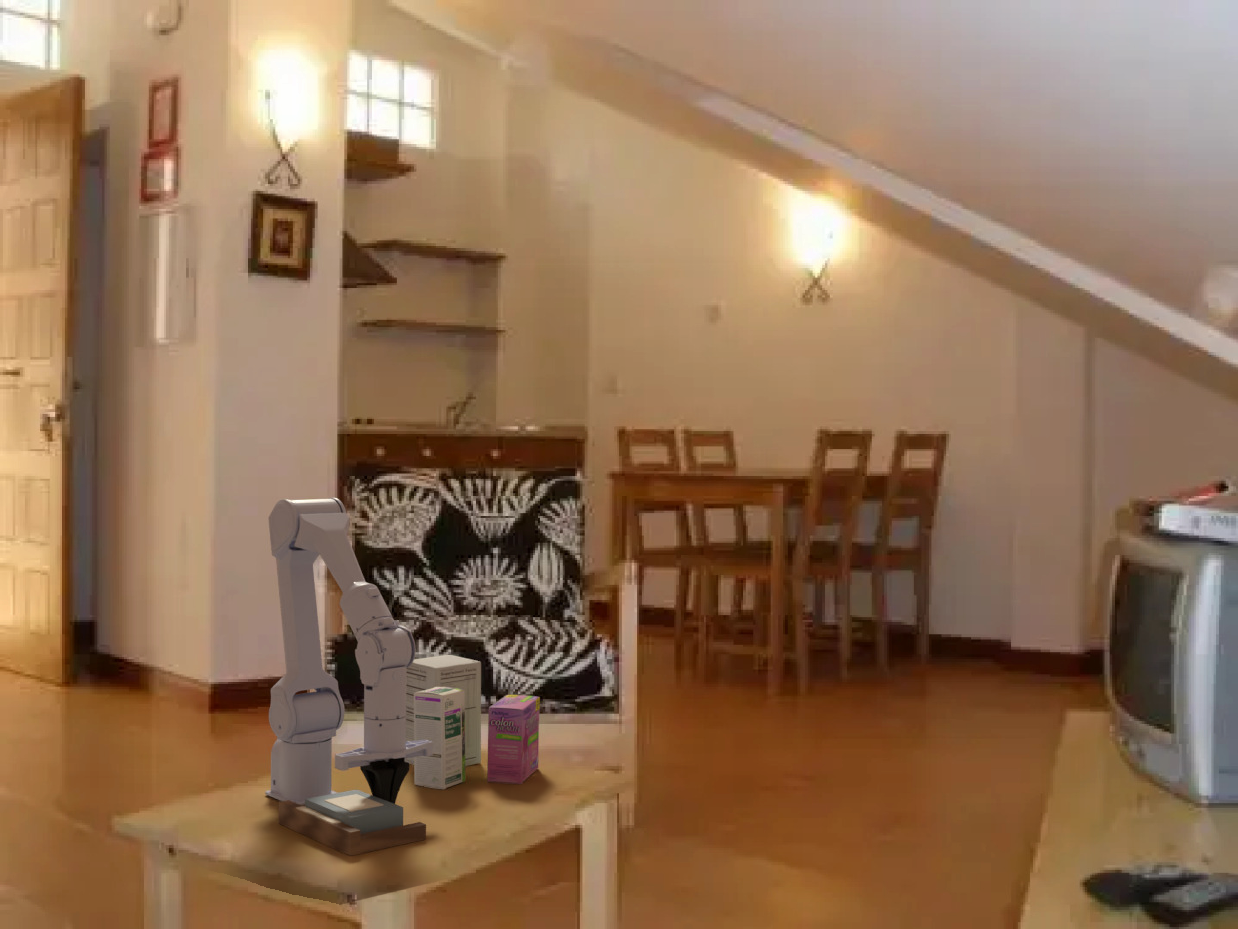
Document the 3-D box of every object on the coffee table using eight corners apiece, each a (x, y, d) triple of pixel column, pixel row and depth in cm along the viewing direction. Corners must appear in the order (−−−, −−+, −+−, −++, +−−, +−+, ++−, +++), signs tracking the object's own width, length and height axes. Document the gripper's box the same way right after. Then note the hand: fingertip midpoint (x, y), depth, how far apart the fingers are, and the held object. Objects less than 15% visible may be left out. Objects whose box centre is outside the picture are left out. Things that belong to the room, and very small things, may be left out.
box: (522, 785, 219) (523, 708, 219) (486, 782, 220) (487, 706, 220) (539, 769, 229) (540, 696, 229) (505, 767, 230) (506, 694, 230)
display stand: (278, 823, 196) (278, 800, 196) (351, 809, 204) (352, 787, 204) (350, 856, 182) (350, 831, 182) (425, 839, 190) (426, 815, 190)
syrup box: (443, 790, 215) (444, 694, 215) (412, 785, 218) (413, 690, 218) (465, 782, 220) (466, 688, 220) (434, 777, 223) (435, 685, 223)
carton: (304, 831, 194) (304, 798, 194) (356, 821, 199) (356, 788, 199) (350, 852, 185) (350, 817, 185) (403, 840, 190) (403, 806, 190)
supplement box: (449, 753, 239) (450, 653, 239) (482, 763, 233) (483, 660, 232) (401, 762, 233) (402, 659, 232) (434, 772, 226) (435, 667, 226)
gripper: (354, 728, 188) (353, 830, 189) (445, 714, 198) (444, 811, 198) (327, 719, 194) (326, 818, 194) (417, 706, 203) (416, 801, 204)
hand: (384, 814), depth 196 cm, fingers closed
